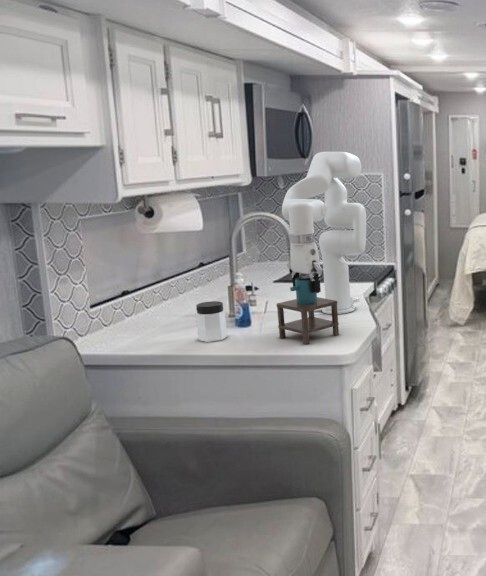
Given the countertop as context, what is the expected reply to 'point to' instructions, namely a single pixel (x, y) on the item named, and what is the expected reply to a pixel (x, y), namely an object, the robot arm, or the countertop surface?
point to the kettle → (304, 290)
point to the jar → (211, 321)
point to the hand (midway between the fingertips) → (306, 290)
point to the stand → (307, 318)
